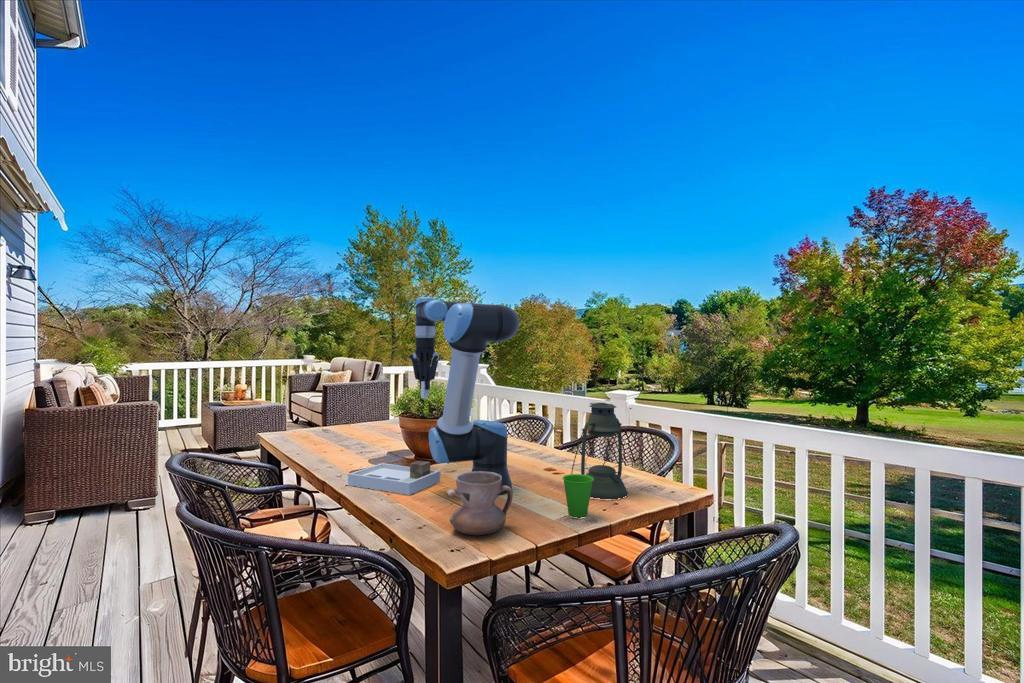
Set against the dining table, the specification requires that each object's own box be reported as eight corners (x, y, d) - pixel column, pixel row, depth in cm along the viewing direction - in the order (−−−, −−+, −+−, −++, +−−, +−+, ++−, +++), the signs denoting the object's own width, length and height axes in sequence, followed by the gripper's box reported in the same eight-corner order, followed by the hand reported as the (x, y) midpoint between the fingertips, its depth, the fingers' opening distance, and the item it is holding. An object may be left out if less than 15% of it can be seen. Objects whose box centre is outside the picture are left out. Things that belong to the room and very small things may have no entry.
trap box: (440, 482, 179) (440, 470, 179) (409, 495, 162) (409, 483, 162) (382, 473, 190) (382, 463, 190) (348, 485, 173) (348, 473, 173)
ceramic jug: (451, 543, 124) (452, 486, 124) (442, 523, 137) (443, 471, 138) (520, 536, 129) (521, 481, 129) (505, 517, 143) (506, 467, 143)
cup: (595, 521, 140) (596, 482, 140) (563, 521, 140) (563, 482, 140) (591, 511, 149) (591, 474, 149) (560, 510, 149) (561, 473, 149)
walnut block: (430, 476, 177) (430, 462, 177) (421, 479, 172) (421, 465, 173) (418, 474, 179) (418, 460, 179) (409, 477, 175) (410, 463, 175)
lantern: (601, 505, 155) (602, 408, 155) (560, 491, 168) (561, 402, 169) (641, 493, 168) (642, 403, 168) (601, 481, 181) (601, 399, 182)
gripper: (444, 337, 195) (444, 398, 194) (417, 337, 200) (416, 396, 200) (433, 337, 188) (433, 399, 188) (405, 337, 193) (404, 398, 193)
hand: (424, 398), depth 194 cm, fingers closed
